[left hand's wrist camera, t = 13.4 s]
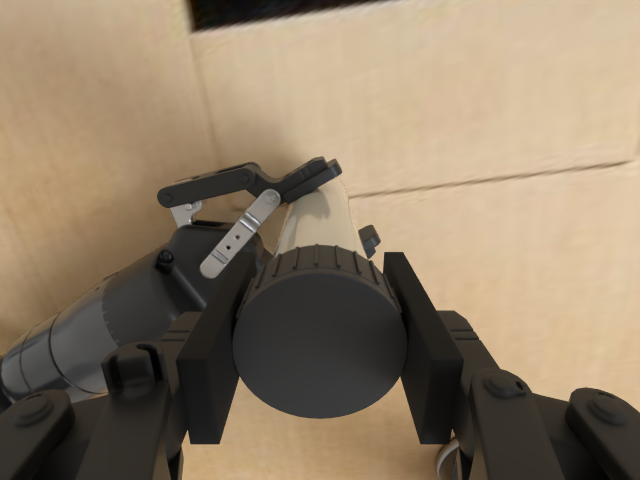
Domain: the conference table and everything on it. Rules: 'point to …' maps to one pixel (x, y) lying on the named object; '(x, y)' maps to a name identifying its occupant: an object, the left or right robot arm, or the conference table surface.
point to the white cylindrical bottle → (321, 221)
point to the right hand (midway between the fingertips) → (356, 200)
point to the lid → (319, 333)
